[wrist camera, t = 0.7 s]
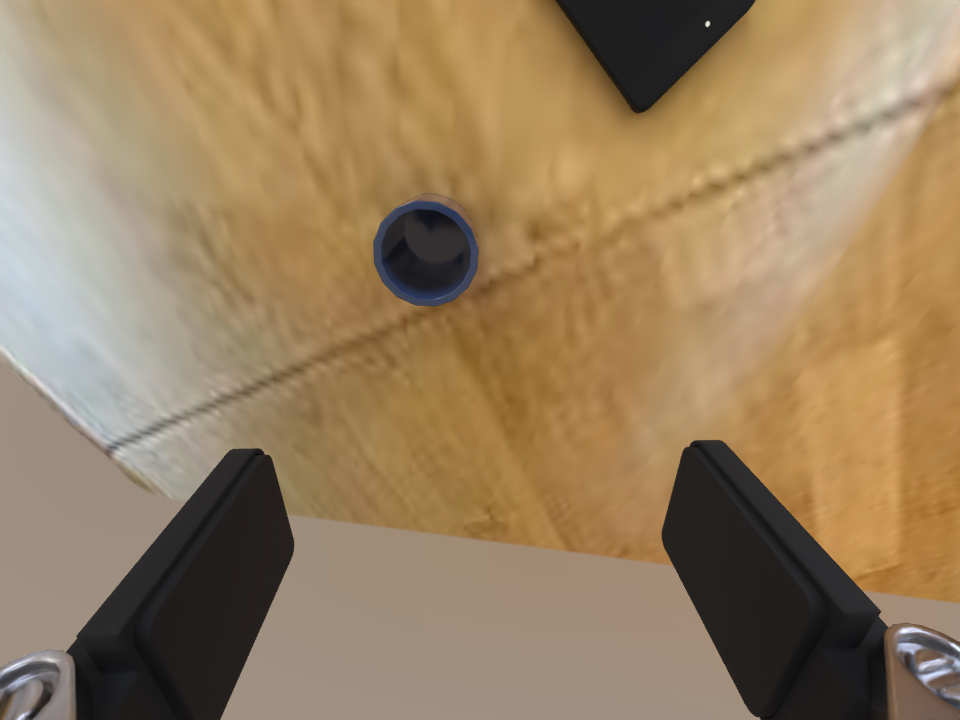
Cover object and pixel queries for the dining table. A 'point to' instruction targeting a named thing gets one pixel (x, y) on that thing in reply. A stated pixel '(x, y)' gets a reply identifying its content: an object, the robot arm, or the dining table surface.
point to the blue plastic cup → (427, 250)
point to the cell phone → (651, 39)
